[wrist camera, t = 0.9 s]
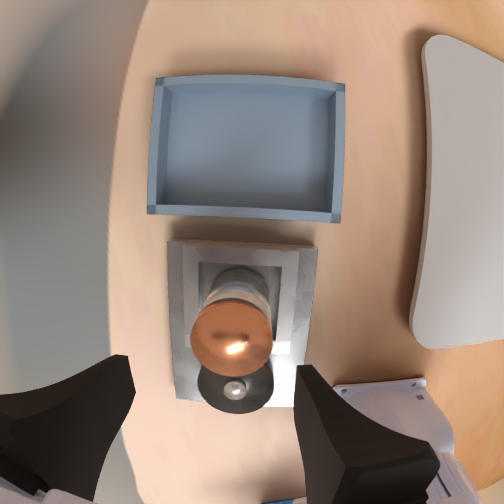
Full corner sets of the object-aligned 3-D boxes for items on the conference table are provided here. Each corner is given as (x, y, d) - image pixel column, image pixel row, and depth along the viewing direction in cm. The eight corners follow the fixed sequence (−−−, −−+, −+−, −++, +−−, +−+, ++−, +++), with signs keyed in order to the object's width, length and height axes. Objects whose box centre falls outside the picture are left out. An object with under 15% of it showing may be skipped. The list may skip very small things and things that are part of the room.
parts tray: (335, 94, 19) (344, 84, 16) (330, 219, 20) (340, 223, 18) (167, 89, 19) (156, 78, 16) (159, 211, 21) (146, 214, 18)
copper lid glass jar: (270, 270, 20) (276, 307, 14) (267, 325, 21) (269, 378, 14) (210, 267, 20) (189, 302, 14) (210, 321, 21) (191, 372, 14)
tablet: (393, 339, 23) (404, 352, 20) (408, 35, 17) (419, 24, 15) (510, 326, 22) (522, 334, 20) (526, 89, 17) (539, 86, 15)
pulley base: (314, 245, 21) (324, 255, 18) (295, 397, 23) (299, 423, 20) (172, 238, 21) (157, 247, 18) (179, 390, 24) (170, 414, 20)
